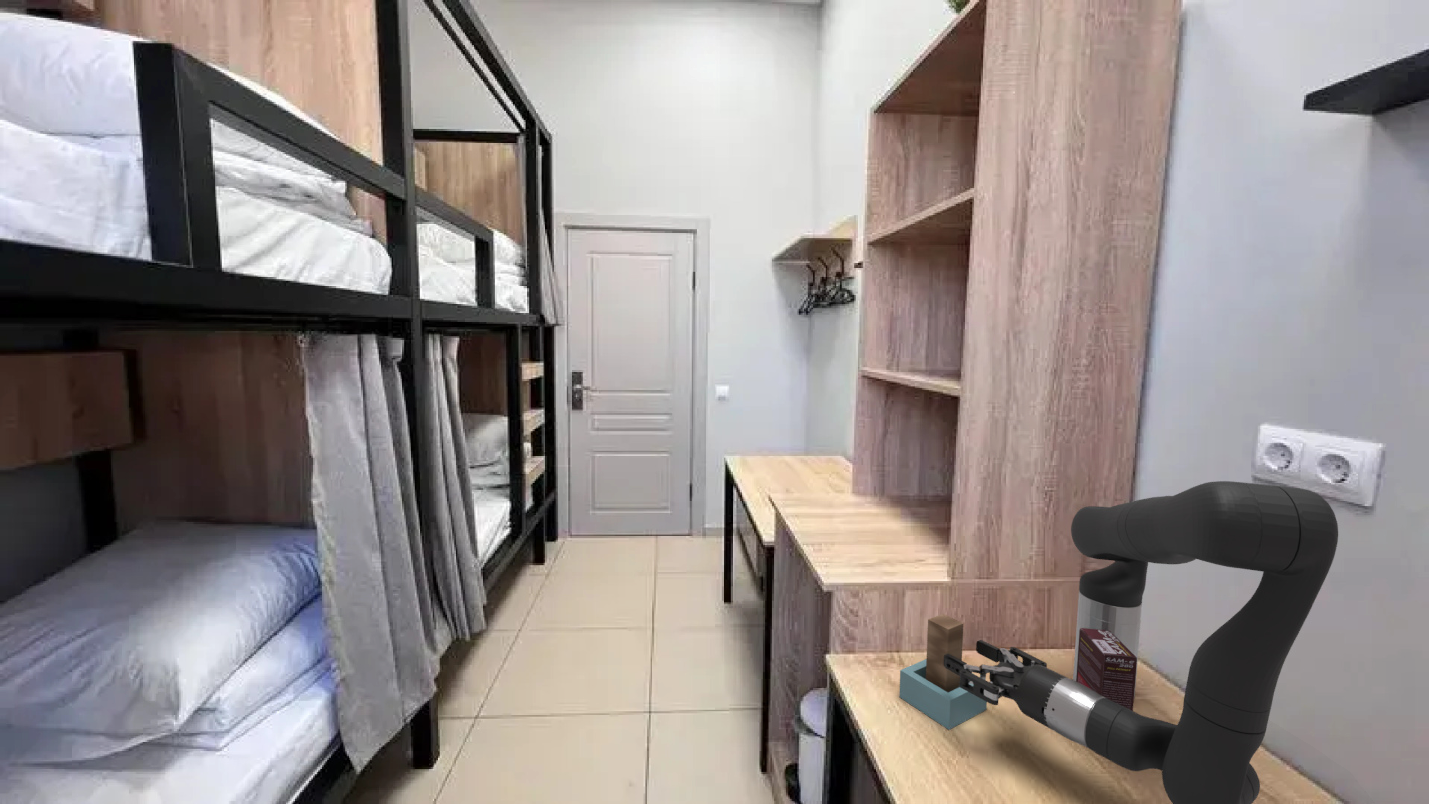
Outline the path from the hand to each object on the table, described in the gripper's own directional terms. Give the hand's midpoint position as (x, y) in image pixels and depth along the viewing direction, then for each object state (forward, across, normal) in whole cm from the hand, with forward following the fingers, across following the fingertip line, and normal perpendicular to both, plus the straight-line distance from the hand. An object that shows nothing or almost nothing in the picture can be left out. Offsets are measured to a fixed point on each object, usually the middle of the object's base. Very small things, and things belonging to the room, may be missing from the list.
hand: (961, 652), depth 93 cm
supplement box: (-15, -14, +11) cm, 23 cm away
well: (+3, 0, +11) cm, 11 cm away
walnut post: (+3, 0, +10) cm, 10 cm away
